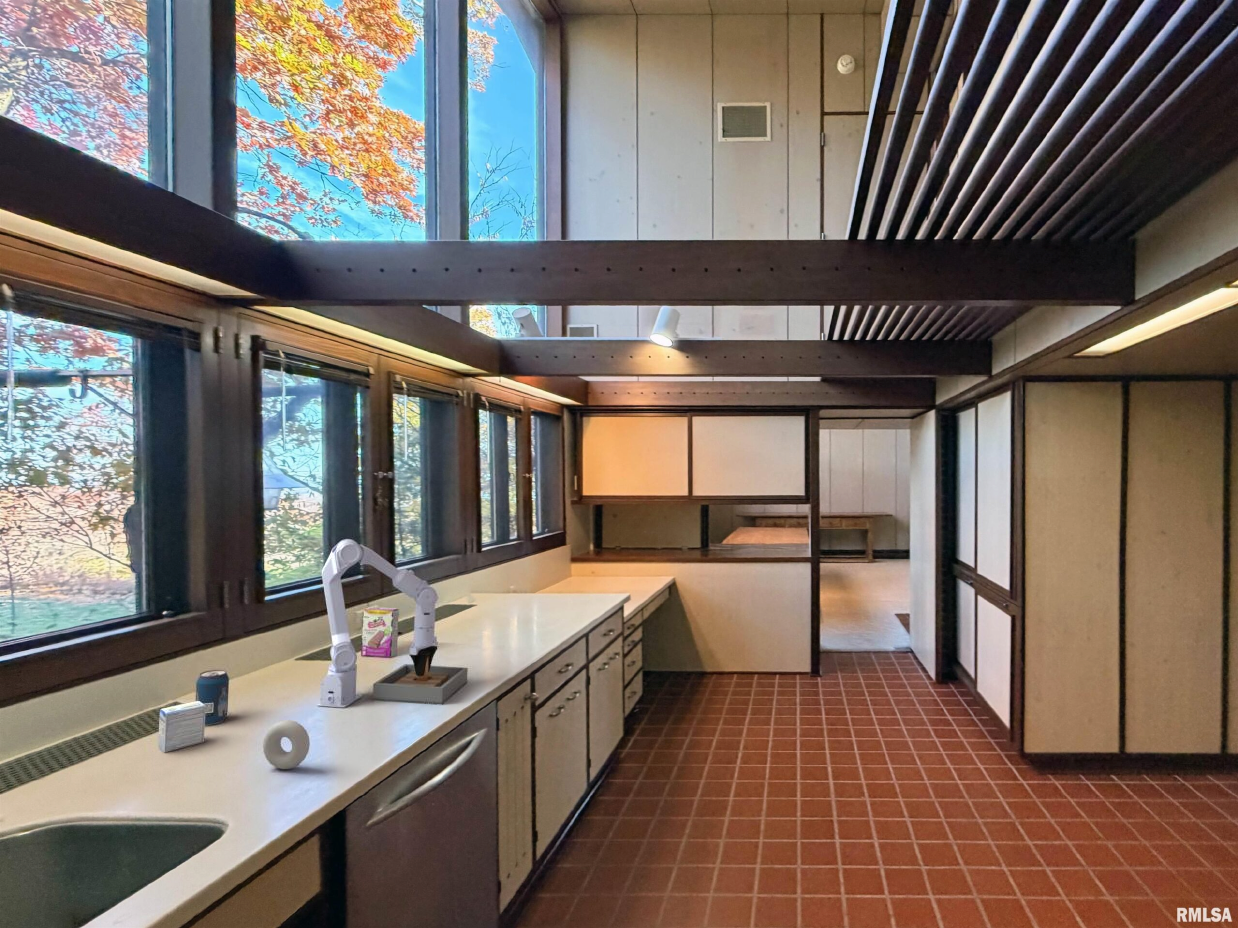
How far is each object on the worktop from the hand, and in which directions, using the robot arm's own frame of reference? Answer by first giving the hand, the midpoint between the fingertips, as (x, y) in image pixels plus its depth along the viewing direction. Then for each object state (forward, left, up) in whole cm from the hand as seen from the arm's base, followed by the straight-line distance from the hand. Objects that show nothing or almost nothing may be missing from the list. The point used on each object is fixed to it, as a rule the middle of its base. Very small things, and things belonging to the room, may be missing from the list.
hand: (422, 673), depth 187 cm
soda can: (-32, +41, -5) cm, 52 cm away
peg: (0, 0, -2) cm, 2 cm away
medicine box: (-46, +37, -5) cm, 59 cm away
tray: (0, 0, -5) cm, 5 cm away
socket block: (0, 0, -5) cm, 5 cm away
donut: (-53, +7, -5) cm, 54 cm away
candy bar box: (+33, +30, -5) cm, 45 cm away
